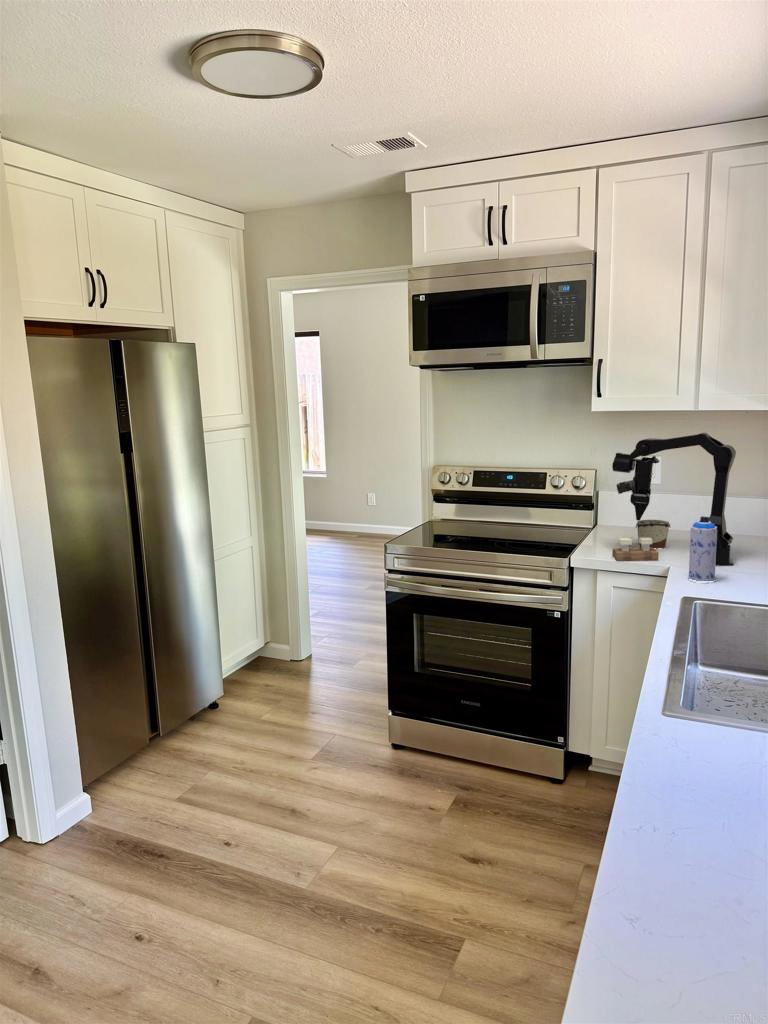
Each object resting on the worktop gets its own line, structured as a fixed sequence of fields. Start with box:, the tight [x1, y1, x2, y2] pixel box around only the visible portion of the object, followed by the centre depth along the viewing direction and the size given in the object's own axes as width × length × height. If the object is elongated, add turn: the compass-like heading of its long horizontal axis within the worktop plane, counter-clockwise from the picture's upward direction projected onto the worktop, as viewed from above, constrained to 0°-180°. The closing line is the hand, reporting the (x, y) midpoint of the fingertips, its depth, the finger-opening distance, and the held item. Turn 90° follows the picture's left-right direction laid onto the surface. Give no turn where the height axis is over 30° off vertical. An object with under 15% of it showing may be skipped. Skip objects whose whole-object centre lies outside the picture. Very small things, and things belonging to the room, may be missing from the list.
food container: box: [635, 519, 671, 550], centre depth 262 cm, size 12×6×10 cm, turn 84°
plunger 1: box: [618, 537, 633, 551], centre depth 246 cm, size 4×4×5 cm
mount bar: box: [611, 547, 660, 562], centre depth 246 cm, size 7×14×3 cm, turn 85°
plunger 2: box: [638, 537, 652, 551], centre depth 245 cm, size 4×4×5 cm
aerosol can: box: [688, 516, 717, 581], centre depth 216 cm, size 8×8×20 cm
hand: (638, 517), depth 250 cm, fingers open, 9 cm apart
